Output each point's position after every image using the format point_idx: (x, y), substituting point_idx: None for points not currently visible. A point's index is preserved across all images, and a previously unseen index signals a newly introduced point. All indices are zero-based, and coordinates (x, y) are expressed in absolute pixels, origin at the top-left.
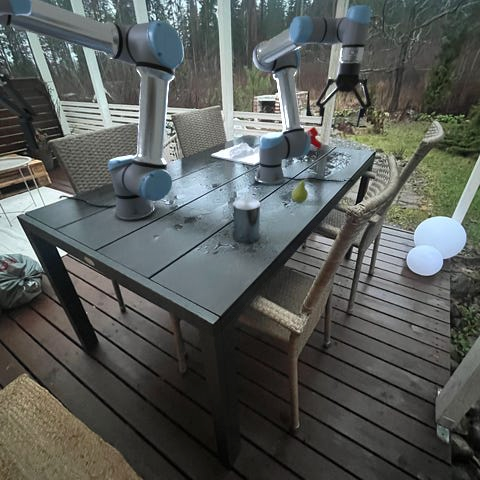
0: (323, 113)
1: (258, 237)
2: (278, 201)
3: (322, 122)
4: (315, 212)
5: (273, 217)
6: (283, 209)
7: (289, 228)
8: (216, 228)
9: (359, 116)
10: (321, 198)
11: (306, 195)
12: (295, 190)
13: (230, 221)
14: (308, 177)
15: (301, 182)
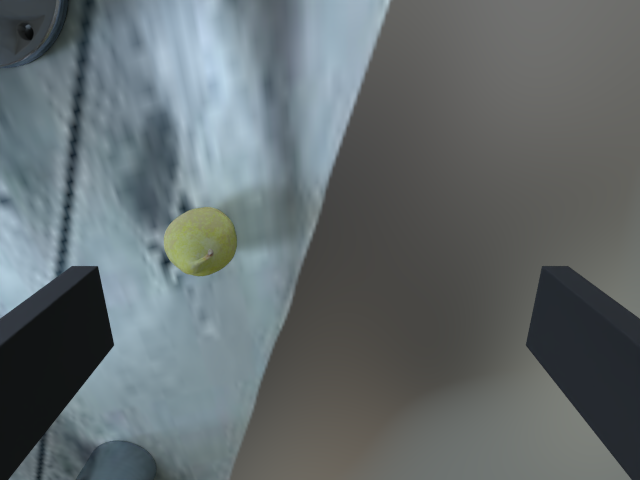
0: (3, 472)
1: (155, 469)
2: (130, 242)
3: (90, 369)
4: (285, 297)
5: (156, 363)
6: (170, 303)
7: (221, 409)
8: None
9: (621, 444)
10: (300, 164)
11: (232, 256)
12: (177, 267)
13: None
14: (209, 258)
15: (187, 273)
